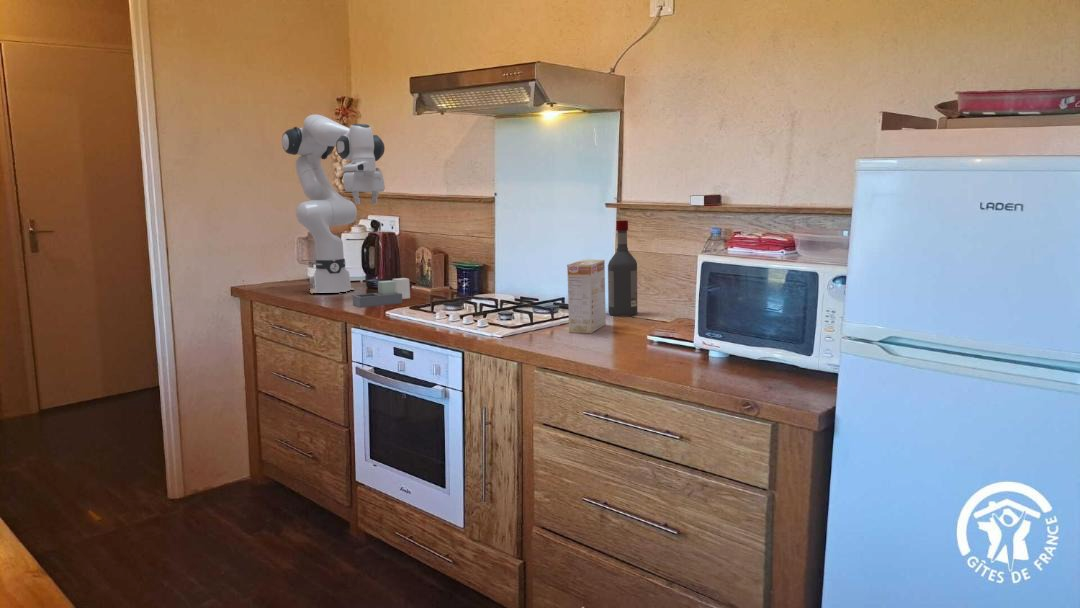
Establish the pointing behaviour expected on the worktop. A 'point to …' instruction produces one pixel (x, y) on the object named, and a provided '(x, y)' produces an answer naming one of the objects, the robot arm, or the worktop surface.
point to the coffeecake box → (586, 295)
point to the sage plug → (386, 287)
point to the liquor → (622, 277)
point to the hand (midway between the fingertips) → (366, 203)
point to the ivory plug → (402, 287)
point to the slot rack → (376, 299)
